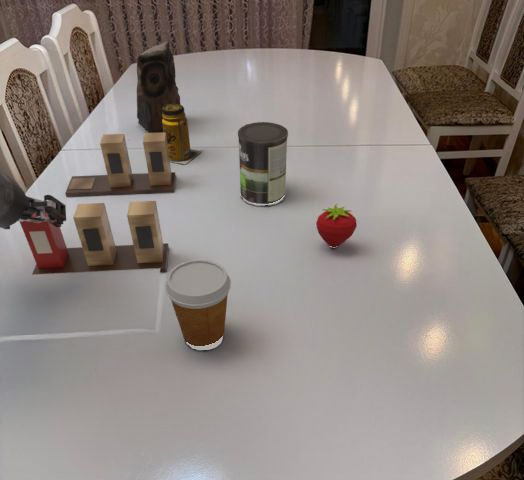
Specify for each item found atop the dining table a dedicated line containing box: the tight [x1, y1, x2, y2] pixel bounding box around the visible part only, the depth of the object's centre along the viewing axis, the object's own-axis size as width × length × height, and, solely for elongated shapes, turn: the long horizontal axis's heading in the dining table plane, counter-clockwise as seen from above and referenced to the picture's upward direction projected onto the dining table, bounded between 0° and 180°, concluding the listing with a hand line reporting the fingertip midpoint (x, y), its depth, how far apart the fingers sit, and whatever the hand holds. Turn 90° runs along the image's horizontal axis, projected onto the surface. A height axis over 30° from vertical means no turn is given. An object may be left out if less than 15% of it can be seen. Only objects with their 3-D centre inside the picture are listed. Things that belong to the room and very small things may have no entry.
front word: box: [31, 200, 170, 275], centre depth 90 cm, size 24×8×11 cm, turn 94°
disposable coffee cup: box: [164, 259, 232, 346], centre depth 75 cm, size 10×10×12 cm
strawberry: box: [315, 203, 358, 247], centre depth 93 cm, size 6×8×10 cm
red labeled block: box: [19, 210, 68, 268], centre depth 89 cm, size 5×5×10 cm
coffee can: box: [237, 121, 289, 207], centre depth 106 cm, size 10×10×14 cm
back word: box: [65, 132, 177, 198], centre depth 111 cm, size 24×8×11 cm, turn 94°
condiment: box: [162, 103, 203, 165], centre depth 121 cm, size 7×8×12 cm
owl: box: [136, 40, 182, 133], centre depth 131 cm, size 13×13×20 cm
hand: (33, 222), depth 84 cm, fingers open, 8 cm apart
